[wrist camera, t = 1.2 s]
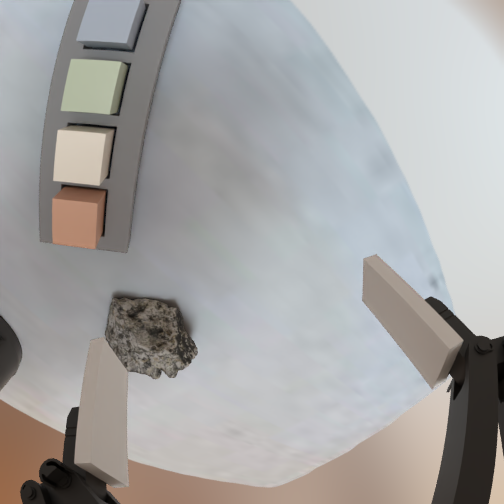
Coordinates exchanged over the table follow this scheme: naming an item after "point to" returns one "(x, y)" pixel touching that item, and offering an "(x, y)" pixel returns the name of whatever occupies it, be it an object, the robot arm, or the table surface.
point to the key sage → (94, 86)
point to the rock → (149, 337)
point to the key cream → (83, 154)
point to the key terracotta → (78, 216)
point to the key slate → (111, 23)
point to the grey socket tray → (107, 118)
